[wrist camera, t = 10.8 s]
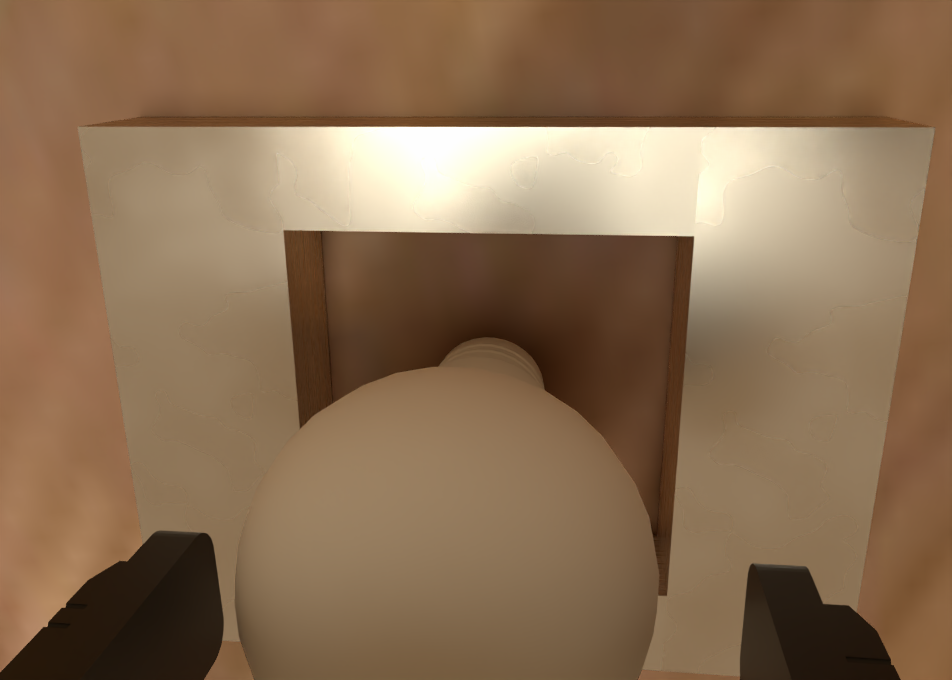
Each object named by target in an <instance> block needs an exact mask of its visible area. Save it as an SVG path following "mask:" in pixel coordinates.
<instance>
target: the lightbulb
mask: <svg viewBox="0 0 952 680" xmlns="http://www.w3.org/2000/svg"><path fill="white" fill-rule="evenodd" d="M658 588H659V570H658V564H657V558H656V552H655V546H654V540H653V535H652V529H651V523H650V518H649V516H648V513H647V511H646V508H645V506H644V503H643V501H642V499H641V496H640V494H639V491H638V489H637V486H636V484H635V482H634V481H633V479H632V478H631V476H630V475H629V474H628V472H627V471H626V469H625V468H624V466H623V465H622V463H621V462H620V461H619V459H618V458H617V456H616V455H615V453H614V452H613V450H612V449H611V447H610V446H609V445H608V443H607V442H606V440H605V439H604V437H603V436H602V435H601V434H600V433H599V432H598V431H597V430H596V429H595V428H594V427H593V426H592V425H590V424H589V423H588V422H587V421H586V420H585V419H584V418H583V417H582V416H581V415H580V414H579V413H578V412H577V411H576V410H574V409H573V408H571V407H570V406H568V405H567V404H565V403H563V402H562V401H560V400H559V399H557V398H556V397H554V396H553V395H551V394H550V393H548V392H546V391H545V389H544V383H543V378H542V374H541V372H540V370H539V367H538V365H537V364H536V362H535V361H534V360H533V358H532V357H531V356H530V355H529V354H528V353H527V352H526V351H525V350H524V349H522V348H521V347H519V346H518V345H516V344H514V343H512V342H509V341H507V340H504V339H499V338H493V337H482V338H476V339H472V340H469V341H466V342H464V343H462V344H460V345H459V346H457V347H455V348H454V349H453V350H452V351H451V352H450V353H449V354H447V355H446V357H445V358H444V360H443V361H442V362H441V363H440V365H439V366H438V367H429V368H423V369H417V370H411V371H405V372H399V373H395V374H392V375H389V376H387V377H384V378H381V379H379V380H376V381H373V382H371V383H368V384H365V385H363V386H361V387H359V388H357V389H356V390H354V391H352V392H350V393H349V394H347V395H345V396H344V397H342V398H341V399H339V400H337V401H336V402H334V403H333V404H331V405H329V406H328V407H326V408H325V409H323V410H321V411H320V412H318V413H317V414H315V415H314V416H313V417H312V418H311V419H310V420H309V421H308V422H307V423H306V424H305V425H304V426H303V427H302V428H301V429H300V430H299V431H298V432H296V433H295V434H294V435H293V436H292V437H291V438H290V439H289V440H288V442H287V443H286V444H285V446H284V447H283V449H282V450H281V452H280V453H279V454H278V456H277V457H276V459H275V460H274V462H273V463H272V465H271V467H270V468H269V470H268V471H267V473H266V474H265V476H264V478H263V479H262V481H261V482H260V484H259V485H258V487H257V489H256V492H255V495H254V497H253V500H252V503H251V506H250V509H249V512H248V515H247V518H246V520H245V524H244V527H243V531H242V534H241V538H240V541H239V545H238V555H237V565H236V575H235V610H236V618H237V626H238V634H239V638H240V641H241V644H242V647H243V649H244V652H245V655H246V658H247V661H248V664H249V666H250V669H251V672H252V675H253V677H254V680H638V678H639V675H640V673H641V671H642V669H643V666H644V662H645V659H646V656H647V653H648V650H649V646H650V643H651V640H652V637H653V633H654V626H655V620H656V614H657V603H658Z"/></svg>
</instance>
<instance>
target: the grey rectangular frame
mask: <svg viewBox="0 0 952 680" xmlns="http://www.w3.org/2000/svg"><path fill="white" fill-rule="evenodd" d="M78 133H79V139H80V146H81V152H82V158H83V165H84V171H85V178H86V184H87V190H88V197H89V203H90V210H91V216H92V222H93V229H94V235H95V242H96V248H97V254H98V261H99V267H100V274H101V280H102V286H103V293H104V299H105V306H106V312H107V318H108V325H109V331H110V338H111V344H112V350H113V357H114V363H115V370H116V376H117V382H118V389H119V395H120V402H121V408H122V414H123V421H124V427H125V434H126V440H127V446H128V453H129V459H130V466H131V472H132V478H133V485H134V491H135V498H136V504H137V510H138V517H139V523H140V530H141V536H142V542H143V544H144V543H145V542H146V541H147V540H148V538H149V537H150V536H151V535H152V534H153V533H155V532H156V531H159V530H163V531H182V532H201V533H207V534H208V535H209V536H210V537H211V539H212V542H213V545H214V551H215V559H216V566H217V573H218V580H219V587H220V595H221V602H222V609H223V617H224V631H223V638H222V641H236V642H241V641H240V638H239V634H238V626H237V618H236V610H235V575H236V565H237V555H238V545H239V541H240V538H241V534H242V531H243V527H244V524H245V520H246V518H247V515H248V512H249V509H250V506H251V503H252V500H253V497H254V495H255V492H256V489H257V487H258V485H259V484H260V482H261V481H262V479H263V478H264V476H265V474H266V473H267V471H268V470H269V468H270V467H271V465H272V463H273V462H274V460H275V459H276V457H277V456H278V454H279V453H280V452H281V450H282V449H283V447H284V446H285V444H286V443H287V442H288V440H289V439H290V438H291V437H292V436H293V435H294V434H295V433H296V432H298V431H299V430H300V429H301V428H302V427H303V426H304V425H305V424H306V423H307V422H308V421H309V420H310V419H311V418H312V417H313V416H314V415H315V414H317V413H318V412H320V411H321V410H323V409H325V408H326V407H328V406H329V405H331V404H333V401H332V387H331V372H330V358H329V343H328V328H327V314H326V299H325V285H324V270H323V256H322V241H321V231H370V232H438V233H507V234H576V235H644V236H678V239H677V253H676V268H675V282H674V297H673V311H672V326H671V340H670V354H669V369H668V383H667V398H666V412H665V426H664V441H663V455H662V470H661V484H660V499H659V513H658V527H657V535H653V540H654V546H655V552H656V558H657V564H658V570H659V588H658V603H657V614H656V620H655V626H654V633H653V637H652V640H651V643H650V646H649V650H648V653H647V656H646V659H645V662H644V666H643V669H642V670H653V671H668V672H682V673H697V674H711V675H725V676H740V650H741V640H742V629H743V619H744V608H745V598H746V587H747V577H748V571H749V567H750V565H751V564H752V563H756V564H774V565H793V566H806V567H807V568H808V569H809V571H810V573H811V576H812V578H813V580H814V583H815V585H816V588H817V590H818V592H819V595H820V597H821V600H822V602H823V604H833V605H849V606H850V607H851V608H852V609H853V610H854V611H855V612H856V613H857V607H858V601H859V595H860V589H861V583H862V577H863V570H864V564H865V558H866V552H867V546H868V540H869V533H870V527H871V521H872V515H873V509H874V503H875V496H876V490H877V484H878V478H879V472H880V466H881V459H882V453H883V447H884V441H885V435H886V429H887V422H888V416H889V410H890V404H891V398H892V392H893V385H894V379H895V373H896V367H897V361H898V355H899V348H900V342H901V336H902V330H903V324H904V318H905V311H906V305H907V299H908V293H909V287H910V281H911V274H912V268H913V262H914V256H915V250H916V244H917V238H918V231H919V225H920V219H921V213H922V207H923V201H924V194H925V188H926V182H927V176H928V170H929V164H930V157H931V151H932V145H933V139H934V133H935V127H931V126H926V125H922V124H917V123H913V122H908V121H903V120H899V119H894V118H890V117H137V118H131V119H124V120H118V121H111V122H105V123H98V124H92V125H85V126H79V127H78Z"/></svg>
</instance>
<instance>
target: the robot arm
mask: <svg viewBox="0 0 952 680" xmlns="http://www.w3.org/2000/svg"><path fill="white" fill-rule="evenodd" d="M223 631H224V617H223V609H222V602H221V595H220V587H219V580H218V573H217V566H216V559H215V551H214V545H213V542H212V539H211V537H210V536H209V535H208V534H207V533H201V532H182V531H163V530H159V531H156V532H155V533H153V534H152V535H151V536H150V537H149V538H148V540H147V541H146V542H145V543H144V544H143V545H142V546H141V547H140V548H139V549H138V551H137V552H136V553H135V554H134V555H133V556H132V557H131V558H130V559H129V560H128V562H126V561H119V562H118V563H116V564H114V565H113V566H111V567H109V568H108V569H106V570H104V571H103V572H101V573H99V574H98V575H96V576H94V577H93V578H91V579H89V580H88V581H87V582H86V583H85V584H84V585H83V586H82V587H81V588H80V589H79V590H78V591H77V593H76V594H75V595H74V596H73V597H72V598H71V599H70V600H69V601H68V602H67V603H66V608H61V609H60V610H59V611H58V612H57V614H56V615H55V616H54V617H53V618H52V619H51V620H50V621H49V622H48V627H43V628H42V629H41V630H40V631H39V632H38V634H37V635H36V636H35V637H34V638H33V639H32V640H31V641H30V642H29V643H28V644H27V645H26V646H25V647H24V648H23V649H22V650H21V651H20V652H19V653H18V655H17V656H16V657H15V658H14V659H13V660H12V661H11V662H10V663H9V664H8V665H7V666H6V667H5V668H4V669H3V670H2V671H1V672H0V680H204V678H205V677H206V675H207V673H208V672H209V670H210V669H211V667H212V665H213V664H214V662H215V660H216V658H217V656H218V653H219V650H220V647H221V643H222V638H223ZM740 680H901V679H900V677H899V675H898V673H897V671H896V669H895V667H894V665H891V659H890V657H889V655H888V653H887V651H886V649H885V647H884V645H883V643H882V641H881V639H880V637H879V635H878V633H877V631H876V630H875V629H874V628H873V627H872V626H871V625H870V624H869V623H867V622H866V621H865V620H864V619H863V618H862V617H861V616H860V615H859V614H858V613H856V612H855V611H854V610H853V609H852V608H851V607H850V606H849V605H833V604H823V602H822V600H821V597H820V595H819V592H818V590H817V588H816V585H815V583H814V580H813V578H812V576H811V573H810V571H809V569H808V568H807V567H806V566H793V565H774V564H756V563H752V564H751V565H750V567H749V571H748V577H747V587H746V598H745V608H744V619H743V629H742V640H741V650H740Z"/></svg>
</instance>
